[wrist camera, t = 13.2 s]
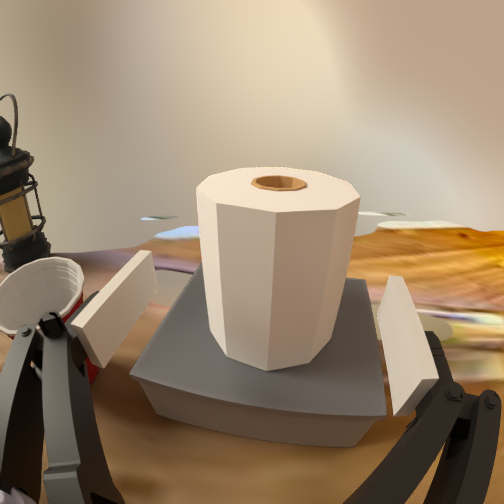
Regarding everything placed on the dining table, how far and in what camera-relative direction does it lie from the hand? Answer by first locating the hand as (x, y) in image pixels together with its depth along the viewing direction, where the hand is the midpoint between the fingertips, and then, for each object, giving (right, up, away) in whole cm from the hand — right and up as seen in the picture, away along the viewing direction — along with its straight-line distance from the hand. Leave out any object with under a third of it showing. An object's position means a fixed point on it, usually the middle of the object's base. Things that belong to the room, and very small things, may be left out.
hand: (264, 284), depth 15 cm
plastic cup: (-20, -12, +10) cm, 25 cm away
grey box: (+1, -10, +12) cm, 16 cm away
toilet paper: (+1, -5, +9) cm, 10 cm away
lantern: (-46, -1, +29) cm, 54 cm away
